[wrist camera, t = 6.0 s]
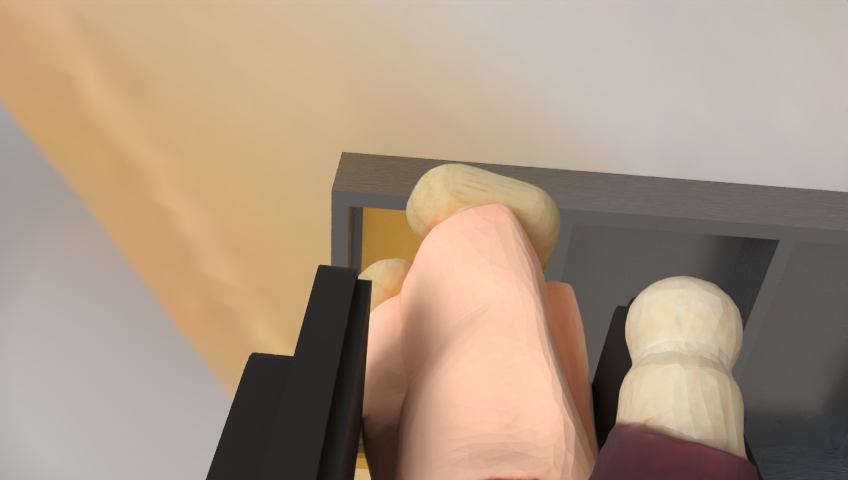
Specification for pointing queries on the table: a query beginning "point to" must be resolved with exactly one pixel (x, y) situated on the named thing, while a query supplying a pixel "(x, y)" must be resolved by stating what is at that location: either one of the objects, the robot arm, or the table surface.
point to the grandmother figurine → (535, 355)
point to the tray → (669, 257)
